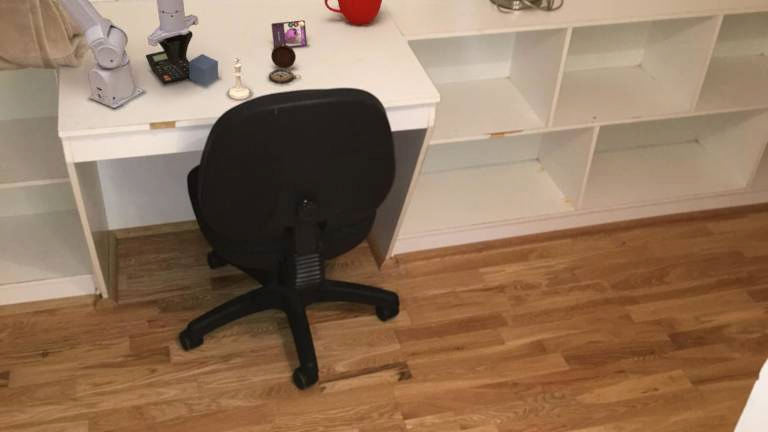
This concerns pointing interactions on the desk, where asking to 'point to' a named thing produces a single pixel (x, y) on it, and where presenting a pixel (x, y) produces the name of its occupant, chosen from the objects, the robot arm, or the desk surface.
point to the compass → (282, 64)
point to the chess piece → (238, 82)
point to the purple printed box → (288, 33)
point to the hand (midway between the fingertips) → (177, 62)
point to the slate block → (203, 70)
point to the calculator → (168, 68)
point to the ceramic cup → (358, 10)
